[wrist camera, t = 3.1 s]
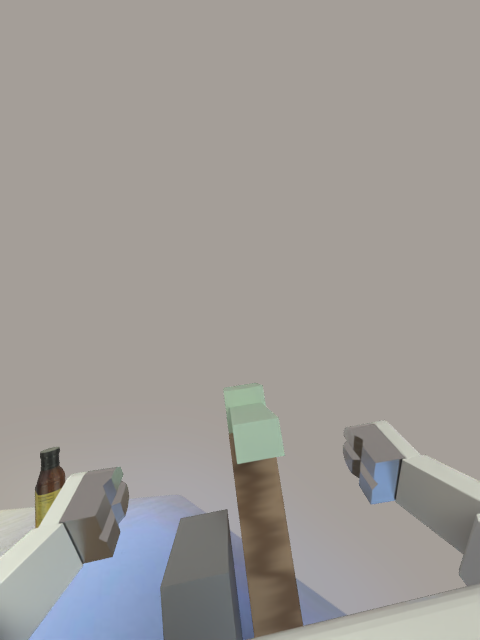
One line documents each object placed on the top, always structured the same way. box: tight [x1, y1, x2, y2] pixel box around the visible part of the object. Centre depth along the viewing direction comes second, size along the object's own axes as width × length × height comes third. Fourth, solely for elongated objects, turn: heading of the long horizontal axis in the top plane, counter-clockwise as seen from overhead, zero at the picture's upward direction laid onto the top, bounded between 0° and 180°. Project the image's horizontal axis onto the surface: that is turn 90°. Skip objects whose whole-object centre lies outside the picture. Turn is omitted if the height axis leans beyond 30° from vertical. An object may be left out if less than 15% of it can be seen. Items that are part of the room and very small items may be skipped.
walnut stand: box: [229, 433, 303, 638], centre depth 29 cm, size 5×8×26 cm, turn 4°
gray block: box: [160, 509, 243, 640], centre depth 25 cm, size 6×10×16 cm, turn 4°
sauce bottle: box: [35, 447, 65, 528], centre depth 62 cm, size 6×6×20 cm
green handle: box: [224, 383, 285, 464], centre depth 28 cm, size 5×16×5 cm, turn 4°
